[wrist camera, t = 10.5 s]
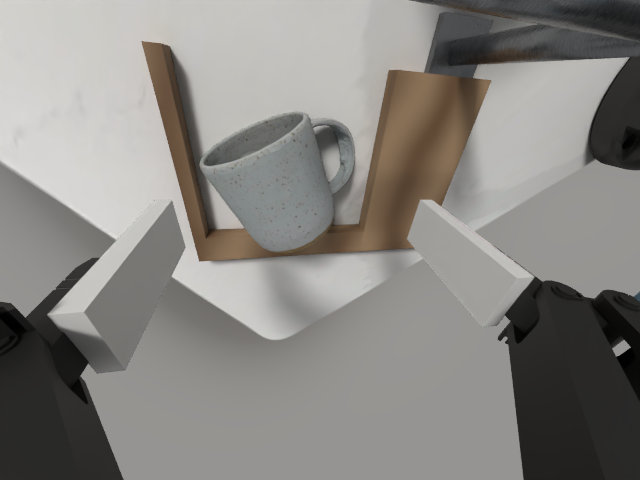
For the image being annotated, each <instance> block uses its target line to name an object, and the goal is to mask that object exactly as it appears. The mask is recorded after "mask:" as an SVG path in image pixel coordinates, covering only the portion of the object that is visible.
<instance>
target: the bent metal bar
mask: <svg viewBox="0 0 640 480" xmlns="http://www.w3.org/2000/svg"><path fill="white" fill-rule="evenodd" d="M411 1H416V2H421V3H427V4H432V5H438V6H443V7H449V8H454V9H460V10H465V11H471V12H476V13H482V14H487V15H493V16H498V17H504V18H509V19H515V20H520V21H526V22H531V23H537V25H532V26H526V27H521V28H515V29H510V30H504V31H499V32H493V33H489V31H490V28H491V26H492V23H493V20H489V19H483V18H477V17H472V16H466V15H460V14H455V13H449V12H443V13H440V15H439V19H438V23H437V26H436V30H435V34H434V38H433V42H432V45H431V49H430V53H429V57H428V60H427V64H426V68H425V72H424V73H429V74H438V75H447V76H456V77H465V78H473V76H474V73H475V70H476V67H477V65H479V64H499V63H520V62H540V61H561V60H581V59H601V58H622V57H640V0H411Z"/></svg>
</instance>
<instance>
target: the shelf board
mask: <svg viewBox="0 0 640 480" xmlns="http://www.w3.org/2000/svg"><path fill="white" fill-rule="evenodd" d="M142 45H143V49H144V53H145V56H146V60H147V64H148V68H149V72H150V75H151V79H152V83H153V87H154V91H155V95H156V98H157V102H158V106H159V110H160V114H161V117H162V121H163V125H164V129H165V133H166V136H167V140H168V144H169V148H170V152H171V155H172V159H173V163H174V167H175V171H176V174H177V178H178V182H179V186H180V190H181V193H182V197H183V201H184V205H185V209H186V212H187V216H188V220H189V224H190V228H191V231H192V235H193V239H194V243H195V247H196V250H197V254H198V258H199V261H213V260H229V259H245V258H261V257H277V256H293V255H308V254H324V253H340V252H356V251H372V250H388V249H403V248H414V247H413V246H412V245H411V243H410V242H409V241H408V240H407V237H408V234H409V231H410V228H411V225H412V222H413V219H414V216H415V213H416V211H417V208H418V205H419V202H420V200H433V201H434V202H436V203H437V204H438V205H440V206H441V205H442V203H443V200H444V198H445V195H446V193H447V190H448V188H449V185H450V183H451V180H452V178H453V175H454V173H455V170H456V168H457V165H458V163H459V160H460V158H461V155H462V153H463V150H464V148H465V145H466V143H467V140H468V138H469V135H470V133H471V130H472V128H473V125H474V123H475V120H476V118H477V115H478V113H479V110H480V108H481V105H482V103H483V100H484V98H485V95H486V93H487V90H488V88H489V85H490V83H491V80H483V79H474V78H465V77H456V76H447V75H438V74H429V73H421V72H412V71H403V70H389V72H388V78H387V83H386V88H385V93H384V98H383V103H382V108H381V113H380V119H379V124H378V129H377V134H376V139H375V144H374V149H373V154H372V159H371V165H370V170H369V175H368V180H367V185H366V190H365V195H364V200H363V206H362V211H361V216H360V221H359V224H353V225H331V226H330V228H329V230H328V231H327V232H326V233H325V235H324V236H323V237H322V238H320V239H319V240H318V241H317V242H315V243H314V244H312V245H310V246H308V247H306V248H304V249H302V250H299V251H296V252H292V253H273V252H270V251H268V250H266V249H264V248H263V247H262V246H260V245H259V244H258V243H257V242H256V241H255V240H254V239H253V238H252V237H251V236H250V234H249V233H248V232H247V230H246V229H221V230H209V229H208V224H207V219H206V215H205V210H204V205H203V201H202V196H201V191H200V187H199V182H198V177H197V173H196V168H195V163H194V159H193V154H192V149H191V145H190V140H189V135H188V131H187V126H186V121H185V117H184V112H183V107H182V103H181V98H180V93H179V89H178V84H177V79H176V75H175V70H174V66H173V61H172V56H171V52H170V47H169V46H167V45H164V44H161V43H152V42H143V41H142Z"/></svg>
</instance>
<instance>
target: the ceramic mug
mask: <svg viewBox="0 0 640 480" xmlns="http://www.w3.org/2000/svg"><path fill="white" fill-rule="evenodd" d="M322 125H327V126H330V127H331V128H332V129H333V130H334V132H335V134H336V135H337V139H338V145H339V150H340V161H341V165H340V168H339V171H338V173H337V175H336V176H335V177H334V178H333V180H332V181H331V182H330V183H329V182H328V180H327V177H326V173H325V170H324V166H323V162H322V158H321V155H320V151H319V148H318V145H317V142H316V138H315V134H314V130H313V128H314V127H316V126H322ZM354 162H355V148H354V142H353V138H352V135H351V133H350V131H349V130H348V128H347V127H346V126H345V125H343V124H342V123H340V122H338V121H336V120H333V119H325V118H320V119H311V120H310V118H309V116H308V114H306V113H304V112H291V113H284V114H281V115H277V116H273V117H270V118H268V119H266V120H263V121H260V122H257V123H255V124H252V125H250V126H248V127H246V128H244V129H241V130H240V131H238V132H235V133H234V134H232V135H231V136H229V137H227V138H225V139H223V140H222V141H221V142H219V143H217V144H216V145H214V146H213V147H212V148H211V149H210V150H209V151H208V152H207V153H206V154H205V155H204V156H203V158H202V159H201V161H200V168H201V171H202V172H203V173H204V175H205V176H206V177H207V179H208V180H209V181H210V183H211V184H212V185H213V186H214V188H215V189H216V190H217V192H218V193H219V194H220V196H221V197H222V199H223V200H224V201H225V202H226V204H227V205H228V206H229V208H230V209H231V210H232V212H233V213H234V214H235V215H236V217H237V218H238V219H239V221H240V222H241V223H242V225H243V226H244V228H245V229H246V230H247V232H248V233H249V234H250V236H251V237H252V238H253V239H254V240H255V241H256V242H257V243H258V244H259V245H260V246H262V247H263V248H264V249H266V250H268V251H270V252H273V253H292V252H296V251H299V250H302V249H304V248H306V247H308V246H310V245H312V244H314V243H315V242H317V241H318V240H319V239H320V238H322V237H323V236H324V235H325V233H326V232H327V231H328V230H329V228H330V226H331V225H332V223H333V220H334V214H335V212H334V200H333V196H332V195H333V194H335V193H336V192H338V191H339V190H340V189H341V188H342V187H343V186H344V185H345V184H346V182H347V181H348V180H349V178H350V176H351V173H352V171H353V167H354Z"/></svg>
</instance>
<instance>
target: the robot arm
mask: <svg viewBox="0 0 640 480" xmlns="http://www.w3.org/2000/svg"><path fill="white" fill-rule="evenodd" d="M591 150H592V153H593V155H594V157H595V158H596V159H597V160H598V161H599V162H601V163H604V164H607V165H611V166H615V167H619V168H623V169H628V170H640V57H631V58H630V60H629V61H628V62H627V64H626V65H625V66H624V68H623V69H622V71H621V72H620V73H619V75H618V76H617V78H616V79H615V81H614V82H613V84H612V86H611V87H610V89H609V91H608V92H607V94H606V96H605V98H604V100H603V102H602V104H601V106H600V108H599V110H598V113H597V115H596V118H595V121H594V124H593V128H592V133H591ZM407 240H408V241H409V242H410V243H411V245H412V246H413V247H414V248H415V249H416V251H417V252H418V253H419V254H420V255H421V256H422V258H423V259H424V260H425V261H426V262H427V263H428V265H429V266H430V267H431V268H432V269H433V270H434V271H435V273H436V274H437V275H438V276H439V277H440V279H441V280H442V281H443V282H444V283H445V285H446V286H447V287H448V288H449V289H450V290H451V292H452V293H453V294H454V295H455V296H456V298H457V299H458V300H459V301H460V302H461V303H462V305H463V306H464V307H465V308H466V309H467V310H468V312H469V313H470V314H471V315H472V316H473V317H474V319H475V320H476V321H477V322H478V323H479V324H480V326H481V327H487V326H495V325H498V324H499V322H500V321H501V320H502V318H503V317H504V316H506V317H507V318H508V319H509V320H510V323H509V324H508V325H507V326H506V328H505V329H504V330H503V331H502V333H501V334H500V335H499V336H498V340H499V341H501V340H502V339H503V337H505V336H506V337H508V339H507V341H506V342H505V343H506V344H508V345H509V354H510V363H511V371H512V379H513V388H514V398H515V407H516V416H517V424H518V432H519V442H520V451H521V459H522V469H523V478H524V480H640V292H639V293H638V294H637V295H635V296H634V297H632V296H630V295H629V296H628V294H625V293H622V292H617V291H614V290H604V291H602V292H601V293H600V294H599V295H598V296H597V297H596V298H595V299H592V298H586V297H584V296H583V295H582V294H580V293H579V292H577V291H576V290H574V289H573V288H571V287H569V286H567V285H564V284H562V283H559V282H555V281H544V282H542V281H541V280H539V279H538V278H537V277H535V276H534V275H532V274H531V273H530V272H528V271H527V270H526V269H524V268H523V267H522V266H521V265H519V264H518V263H517V262H515V261H513V260H512V259H511V258H510V257H508V256H507V255H505V254H504V253H503V252H502V251H500V250H499V249H498V248H496V247H495V246H493V245H491V244H490V243H489V242H487V241H486V240H485V239H483V238H482V237H481V236H479V235H478V234H477V233H475V232H474V231H473V230H472V229H470V228H469V227H468V226H466V225H465V224H464V223H462V222H461V221H460V220H458V219H457V218H456V217H454V216H453V215H452V214H450V213H449V212H448V211H446V210H445V209H444V208H442V207H441V206H440V205H438V204H437V203H436V202H434V201H433V200H420V202H419V205H418V208H417V211H416V213H415V216H414V219H413V222H412V225H411V228H410V231H409V234H408V237H407ZM184 249H185V244H184V240H183V237H182V233H181V230H180V226H179V223H178V220H177V216H176V213H175V209H174V206H173V202H172V200H154V201H153V202H152V203H151V204H150V205H149V206H148V207H147V208H146V209H145V211H144V212H143V213H142V214H141V215H140V216H139V217H138V218H137V219H136V220H135V221H134V222H133V223H132V224H131V226H130V227H129V228H128V229H127V230H126V231H125V232H124V233H123V234H122V235H121V236H120V237H119V238H118V239H117V241H116V242H115V243H114V244H113V245H112V246H111V247H110V248H109V249H108V250H107V251H106V252H105V254H104V255H103V256H102V257H101V258H92V259H90V260H88V261H86V262H85V263H83V264H81V265H80V266H78V267H77V268H75V269H74V270H73V271H72V272H71V273H70V274H69V275H68V276H67V277H66V280H65V281H62V282H61V283H60V284H59V285H58V286H57V287H56V290H53V291H52V292H51V293H50V294H49V295H48V296H47V297H46V298H45V299H44V300H43V301H42V302H41V303H40V304H39V305H38V306H37V307H36V308H35V309H34V310H33V311H32V312H31V313H30V314H29V315H28V316H27V317H26V318H25V317H24V316H23V315H22V314H21V313H20V312H19V311H18V310H17V309H16V308H15V307H14V306H13V305H12V304H11V303H5V302H0V480H123V477H122V475H121V472H120V470H119V467H118V465H117V462H116V460H115V457H114V454H113V452H112V449H111V447H110V444H109V442H108V439H107V437H106V434H105V431H104V429H103V427H102V424H101V421H100V419H99V416H98V414H97V411H96V409H95V406H94V404H93V401H92V398H91V396H90V393H89V391H88V388H87V386H86V383H85V381H84V380H83V379H82V378H81V377H80V375H81V374H82V372H83V371H84V369H85V368H86V366H87V364H89V365H90V366H91V367H92V368H93V369H94V371H95V372H96V373H105V372H114V371H122V370H126V368H127V366H128V363H129V361H130V359H131V357H132V355H133V353H134V351H135V349H136V347H137V345H138V343H139V341H140V339H141V337H142V335H143V333H144V331H145V329H146V327H147V325H148V323H149V321H150V319H151V317H152V314H153V312H154V311H155V308H156V306H157V304H158V302H159V300H160V298H161V296H162V294H163V292H164V290H165V288H166V286H167V284H168V282H169V280H170V278H171V276H172V274H173V272H174V270H175V268H176V266H177V264H178V262H179V260H180V258H181V256H182V253H183V251H184ZM623 340H625V341H626V342H627V343H628V344H629V345H630V347H631V348H629V349H628V350H627V351H625V352H624V353H623V354H621V355H620V356H617V357H616V356H615V354H614V352H613V350H612V348H613V347H615V346H616V345H617V344H619V343H620V342H621V341H623Z"/></svg>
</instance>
